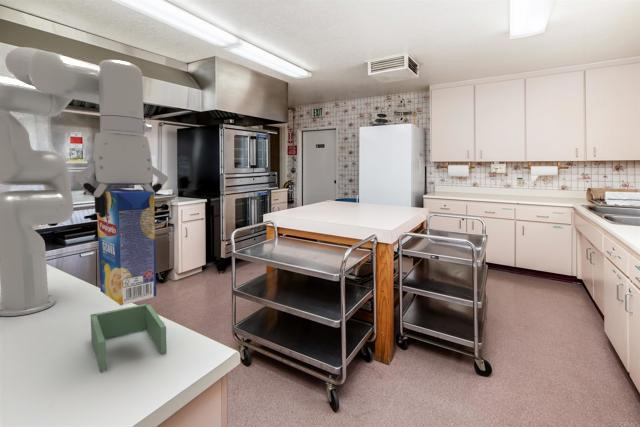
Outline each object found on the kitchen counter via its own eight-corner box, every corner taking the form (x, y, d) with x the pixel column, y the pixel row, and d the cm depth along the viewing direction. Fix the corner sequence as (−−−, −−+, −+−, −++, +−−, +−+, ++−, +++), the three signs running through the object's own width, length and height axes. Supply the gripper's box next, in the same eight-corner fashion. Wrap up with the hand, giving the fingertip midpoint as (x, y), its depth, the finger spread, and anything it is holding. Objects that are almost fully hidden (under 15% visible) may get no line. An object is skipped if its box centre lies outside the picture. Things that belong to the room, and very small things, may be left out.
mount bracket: (91, 339, 77) (90, 314, 76) (149, 326, 84) (149, 303, 83) (100, 372, 65) (99, 342, 64) (166, 352, 73) (166, 326, 72)
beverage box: (134, 283, 78) (131, 188, 75) (156, 296, 71) (154, 191, 68) (100, 291, 73) (95, 188, 70) (121, 305, 66) (117, 192, 63)
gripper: (164, 133, 76) (165, 211, 78) (67, 124, 65) (71, 215, 67) (174, 131, 70) (175, 215, 72) (69, 121, 59) (74, 220, 61)
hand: (125, 215), depth 70 cm, fingers closed on beverage box, 7 cm apart
